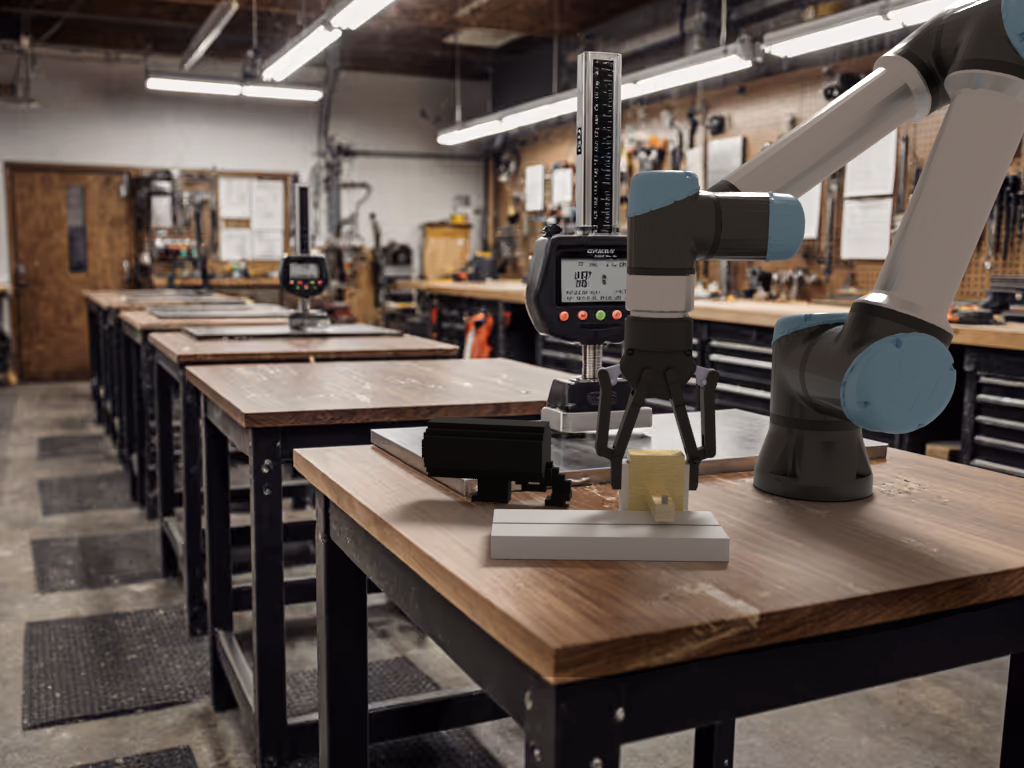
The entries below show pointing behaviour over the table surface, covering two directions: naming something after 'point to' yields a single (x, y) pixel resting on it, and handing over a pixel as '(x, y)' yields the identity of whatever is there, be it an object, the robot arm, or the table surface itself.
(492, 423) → the security camera
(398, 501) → the table surface
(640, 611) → the table surface
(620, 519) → the board
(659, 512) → the pale yellow block
